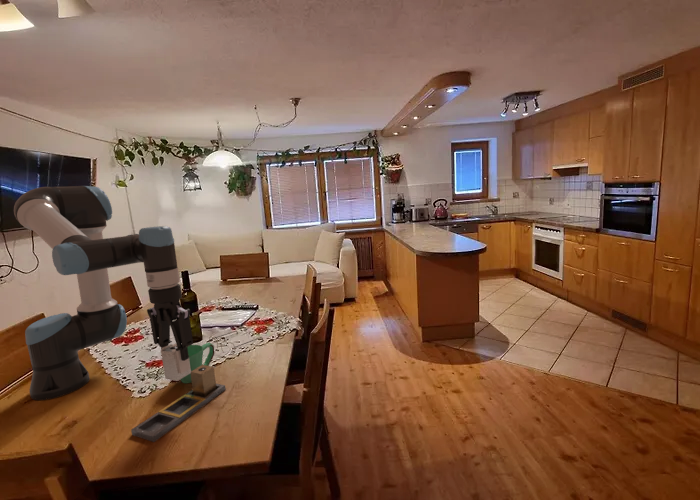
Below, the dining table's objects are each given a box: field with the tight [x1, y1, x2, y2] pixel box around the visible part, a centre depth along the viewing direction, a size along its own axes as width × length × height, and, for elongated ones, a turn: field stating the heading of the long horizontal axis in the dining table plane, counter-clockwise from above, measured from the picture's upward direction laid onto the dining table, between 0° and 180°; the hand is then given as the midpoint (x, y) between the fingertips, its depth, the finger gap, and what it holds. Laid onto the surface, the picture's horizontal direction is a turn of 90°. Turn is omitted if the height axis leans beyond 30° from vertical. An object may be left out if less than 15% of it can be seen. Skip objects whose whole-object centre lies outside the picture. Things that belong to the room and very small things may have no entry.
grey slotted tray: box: [130, 383, 227, 443], centre depth 97 cm, size 8×24×2 cm, turn 156°
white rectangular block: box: [160, 343, 191, 382], centre depth 95 cm, size 4×4×8 cm
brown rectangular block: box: [190, 364, 217, 397], centre depth 104 cm, size 4×4×8 cm
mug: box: [179, 342, 215, 384], centre depth 116 cm, size 15×10×10 cm
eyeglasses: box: [208, 330, 264, 354], centre depth 141 cm, size 16×15×5 cm
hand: (177, 369), depth 95 cm, fingers closed on white rectangular block, 4 cm apart
